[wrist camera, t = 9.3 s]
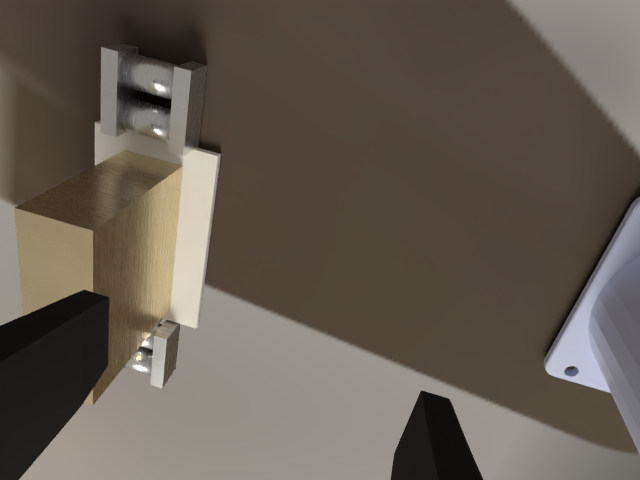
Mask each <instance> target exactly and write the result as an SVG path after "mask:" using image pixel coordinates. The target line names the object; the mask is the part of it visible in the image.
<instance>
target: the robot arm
mask: <svg viewBox="0 0 640 480" xmlns="http://www.w3.org/2000/svg"><path fill="white" fill-rule="evenodd" d="M108 345H109V297H107V296H104V295H101V294H97V293H94V292H91V291H87V290H82V291H80V292H77V293H75V294H72V295H70V296H67V297H65V298H63V299H61V300H58V301H56V302H54V303H51V304H49V305H47V306H45V307H42V308H40V309H38V310H36V311H33V312H31V313H29V314H27V315H24V316H22V317H20V318H17V319H15V320H13V321H11V322H8V323H6V324H4V325H1V326H0V480H19V479H20V478H21V476H22V475H23V474H24V473H25V472H26V470H27V469H28V468H29V467H30V466H31V465H32V464H33V462H34V461H35V460H36V459H37V458H38V456H39V455H40V454H41V453H42V452H43V450H44V449H45V448H46V447H47V446H48V445H49V444H50V442H51V441H52V440H53V439H54V438H55V437H56V435H57V434H58V433H59V432H60V431H61V429H62V428H63V427H64V426H65V425H66V423H67V422H68V421H69V420H70V419H71V417H72V416H73V415H74V414H75V413H76V411H77V410H78V409H79V408H80V407H81V405H82V404H83V403H84V401H85V400H86V398H87V397H88V395H89V394H90V392H91V391H92V389H93V388H94V387H95V385H96V383H97V382H98V380H99V379H100V377H101V375H102V374H103V372H104V371H105V369H106V368H107V366H108ZM544 366H545V369H546V371H547V372H548V374H550V375H552V376H555V377H558V378H561V379H565V380H568V381H572V382H575V383H579V384H582V385H585V386H589V387H592V388H596V389H599V390H602V391H606V392H609V393H611V394H612V396H613V398H614V400H615V402H616V405H617V407H618V409H619V411H620V413H621V415H622V417H623V420H624V422H625V424H626V426H627V428H628V430H629V432H630V434H631V437H632V439H633V441H634V443H635V445H636V447H637V449H638V452H639V454H640V197H639V198H637V199H635V201H634V202H633V203H632V204H631V206H630V208H629V210H628V211H627V213H626V215H625V217H624V218H623V220H622V222H621V224H620V226H619V227H618V229H617V231H616V233H615V234H614V236H613V238H612V240H611V242H610V243H609V245H608V247H607V249H606V250H605V252H604V254H603V256H602V258H601V259H600V261H599V263H598V265H597V266H596V268H595V270H594V272H593V274H592V275H591V277H590V279H589V281H588V282H587V284H586V286H585V288H584V290H583V291H582V293H581V295H580V297H579V298H578V300H577V302H576V304H575V306H574V307H573V309H572V311H571V313H570V314H569V316H568V318H567V320H566V322H565V323H564V325H563V327H562V329H561V330H560V332H559V334H558V336H557V337H556V339H555V341H554V343H553V345H552V346H551V348H550V350H549V352H548V353H547V355H546V357H545V359H544ZM569 366H575V368H574V369H571V370H566V368H567V367H569ZM391 480H483V478H482V476H481V473H480V471H479V469H478V467H477V464H476V462H475V460H474V458H473V455H472V453H471V451H470V448H469V446H468V444H467V441H466V439H465V436H464V434H463V431H462V429H461V426H460V424H459V421H458V419H457V416H456V414H455V411H454V408H453V406H452V403H451V402H450V400H449V399H448V398H445V397H442V396H438V395H435V394H431V393H428V392H425V391H421V392H420V394H419V397H418V399H417V401H416V404H415V406H414V409H413V411H412V413H411V416H410V418H409V420H408V423H407V425H406V427H405V430H404V432H403V434H402V437H401V439H400V441H399V444H398V446H397V448H396V451H395V453H394V460H393V467H392V475H391Z"/></svg>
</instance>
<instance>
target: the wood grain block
mask: <svg viewBox="0 0 640 480" xmlns="http://www.w3.org/2000/svg"><path fill="white" fill-rule="evenodd" d="M182 173H183V166H182V165H178V164H175V163H171V162H167V161H164V160H160V159H157V158H153V157H149V156H146V155H142V154H139V153H135V152H132V151H128V150H124V151H122V152H120V153H118V154H116V155H114V156H112V157H110V158H108V159H107V160H105V161H103V162H101V163H99V164H97V165H95V166H93V167H91V168H89V169H88V170H86V171H84V172H82V173H80V174H78V175H76V176H74V177H72V178H70V179H69V180H67V181H65V182H63V183H61V184H59V185H57V186H55V187H53V188H52V189H50V190H48V191H46V192H44V193H42V194H40V195H38V196H36V197H34V198H33V199H31V200H29V201H27V202H25V203H23V204H21V205H19V206H17V207H15V219H16V231H17V244H18V256H19V269H20V280H21V293H22V305H23V316H24V315H27V314H29V313H31V312H33V311H36V310H38V309H40V308H42V307H45V306H47V305H49V304H51V303H54V302H56V301H58V300H61V299H63V298H65V297H67V296H70V295H72V294H75V293H77V292H80V291H82V290H87V291H91V292H94V293H97V294H101V295H104V296H107V297H109V345H108V366H107V368H106V369H105V371H104V372H103V374H102V375H101V377H100V379H99V380H98V382H97V383H96V385H95V387H94V388H93V389H92V391H91V392H90V394H89V395H88V397H87V398H86V400H85V401H84V403H85V404H89V405H92V406H93V405H94V404H95V403H96V401H97V400H98V399H99V397H100V396H101V395H102V394H103V393H104V391H105V390H106V389H107V388H108V386H109V385H110V384H111V383H112V381H113V380H114V379H115V378H116V376H117V375H118V374H119V372H120V371H121V370H122V369H123V368H124V366H125V365H126V364H127V363H128V361H129V360H130V359H131V358H132V356H133V355H134V354H135V353H136V351H137V350H138V349H139V348H140V346H141V345H142V344H143V343H144V341H145V340H146V339H147V338H148V336H149V335H150V334H151V333H152V331H153V330H154V329H155V328H156V326H157V325H158V324H159V323H160V321H161V320H162V319H163V318H164V316H165V315H166V314H167V313H168V311H169V310H170V304H171V293H172V282H173V271H174V260H175V249H176V238H177V228H178V217H179V206H180V195H181V184H182Z"/></svg>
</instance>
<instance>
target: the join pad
mask: <svg viewBox="0 0 640 480" xmlns="http://www.w3.org/2000/svg"><path fill="white" fill-rule="evenodd" d="M100 130H101V121H97V122H95V165H97V164H99V163H101V162H103V161H105V160H107V159H108V158H110V157H112V156H114V155H116V154H118V153H120V152H122V151H124V150H128V151H132V152H135V153H139V154H142V155H146V156H149V157H153V158H157V159H160V160H164V161H167V162H171V163H175V164H178V165H182V166H183V173H182V184H181V195H180V206H179V217H178V228H177V238H176V249H175V260H174V271H173V282H172V293H171V304H170V310H169V311H168V313H167V314H166V315H165V316H164V318H163V319H166V320H169V321H173V322H176V323H179V324H183V325H186V326H190V327H193V328H197V327H198V326H199V322H200V313H201V306H202V298H203V289H204V282H205V275H206V267H207V259H208V251H209V243H210V235H211V228H212V220H213V212H214V204H215V196H216V188H217V181H218V173H219V165H220V157H221V154H219V153H215V152H212V151H208V150H205V149H201V148H197V147H196V148H194V149H193V150H192V151H190V152H189V153H187V154H186V155H184V156H182V155H178V154H175V153H171V152H168V142H164V141H160V140H157V139H153V138H149V137H146V136H142V135H139V134H135V133H131V132H126V133H124V134H122V135H119V136H117V137H113V136H110V135H106V134H103V133H100Z"/></svg>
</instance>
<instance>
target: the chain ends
mask: <svg viewBox="0 0 640 480" xmlns="http://www.w3.org/2000/svg"><path fill="white" fill-rule="evenodd" d="M206 74H207V65H203V64H199V63H196V62H192V61H191V62H188V63H184V64H181V65H176V64H172V63H168V62H165V61H161V60H157V59H153V58H149V57H146V56H142V55H139V47H135V46H131V45H127V44H124V43H123V44H117V45H111V46H105V47H101V130H100V133H103V134H106V135H110V136H113V137H117V136H119V135H122V134H124V133H126V132H131V133H135V134H139V135H142V136H146V137H149V138H153V139H157V140H160V141H164V142H168V152H171V153H175V154H178V155H182V156H184V155H186V154H187V153H189V152H190V151H192V150H193V149H194V148H196V147H197V146H199V140H200V131H201V121H202V112H203V102H204V93H205V83H206ZM137 90H138V91H141V92H145V93H149V94H152V95H156V96H160V97H164V98H167V99H171V100H172V103H171V109H169V108H165V107H161V106H158V105H154V104H150V103H147V102H143V101H139V100H137ZM179 330H180V324H179V323H176V322H173V321H169V320H166V321H165V322H164V324H163V325H162V324H158V325H157V326H156V328H155V329H154V330H153V331H152V333H151V334H150V335H149V336H148V338H147V339H146V340H145V341H144V343H143V344H142V345H141V346H140V348H139V349H138V350H137V351H136V353H135V354H134V355H133V356H132V358H131V359H130V360H129V361H128V363H127V364H126V365H125V366H124V368H127V369H131V370H134V371H138V372H140V373H144V374H147V375H150V376H151V385H152V386H156V387H159V388H163V387H164V386H165V384H166V382H167V381H168V379H169V378H170V376H171V375H172V373H173V372H174V370H175V369H176V358H177V350H178V341H179Z"/></svg>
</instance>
